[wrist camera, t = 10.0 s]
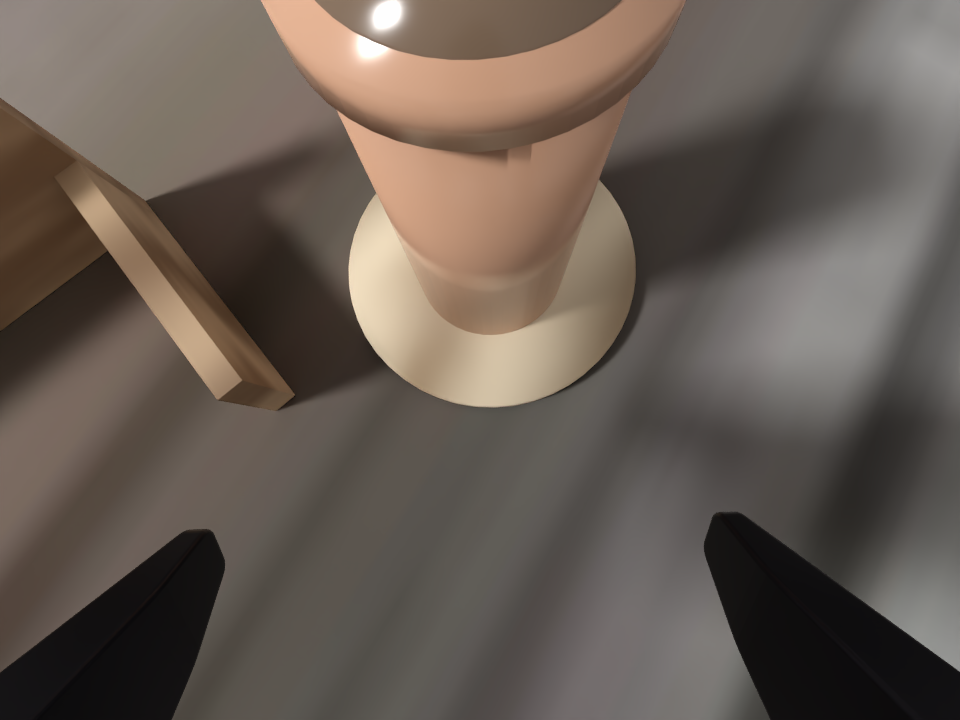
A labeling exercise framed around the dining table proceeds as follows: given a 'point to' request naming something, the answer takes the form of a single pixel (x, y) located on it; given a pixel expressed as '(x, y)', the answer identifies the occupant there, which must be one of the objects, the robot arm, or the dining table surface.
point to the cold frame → (132, 243)
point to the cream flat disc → (504, 357)
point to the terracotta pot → (480, 128)
